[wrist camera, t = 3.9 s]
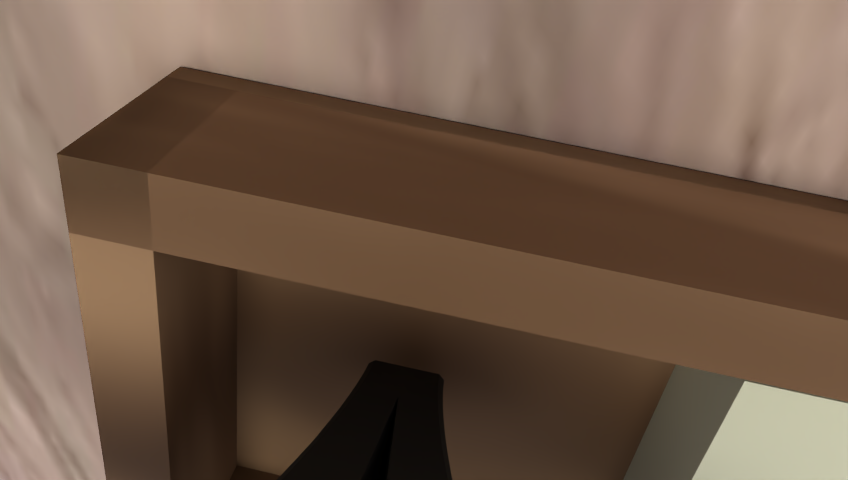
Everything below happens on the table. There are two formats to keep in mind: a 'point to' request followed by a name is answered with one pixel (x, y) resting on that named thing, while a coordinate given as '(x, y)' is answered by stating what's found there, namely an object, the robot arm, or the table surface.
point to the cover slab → (741, 432)
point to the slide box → (420, 282)
